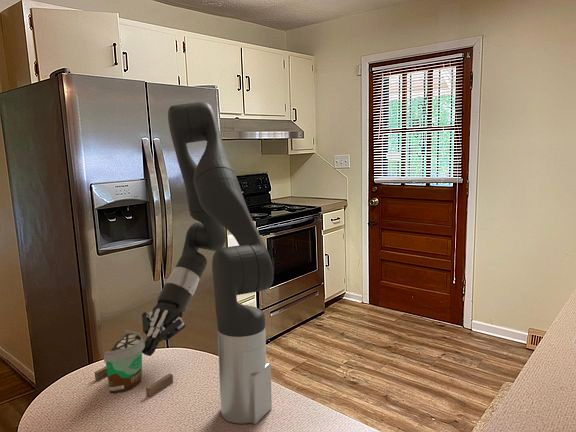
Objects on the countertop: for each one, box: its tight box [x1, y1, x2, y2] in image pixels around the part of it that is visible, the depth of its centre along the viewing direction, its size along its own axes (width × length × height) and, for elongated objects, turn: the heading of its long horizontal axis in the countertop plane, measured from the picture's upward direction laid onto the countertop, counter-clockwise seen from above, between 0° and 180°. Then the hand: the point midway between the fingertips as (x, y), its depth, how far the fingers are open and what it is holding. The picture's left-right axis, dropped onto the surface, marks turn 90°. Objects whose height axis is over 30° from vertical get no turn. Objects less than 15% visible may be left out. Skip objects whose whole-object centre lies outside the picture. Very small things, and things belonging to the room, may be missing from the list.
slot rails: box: [94, 365, 174, 399], centre depth 99 cm, size 17×7×2 cm, turn 62°
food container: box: [103, 330, 145, 395], centre depth 98 cm, size 12×6×10 cm, turn 179°
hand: (145, 354), depth 102 cm, fingers closed
